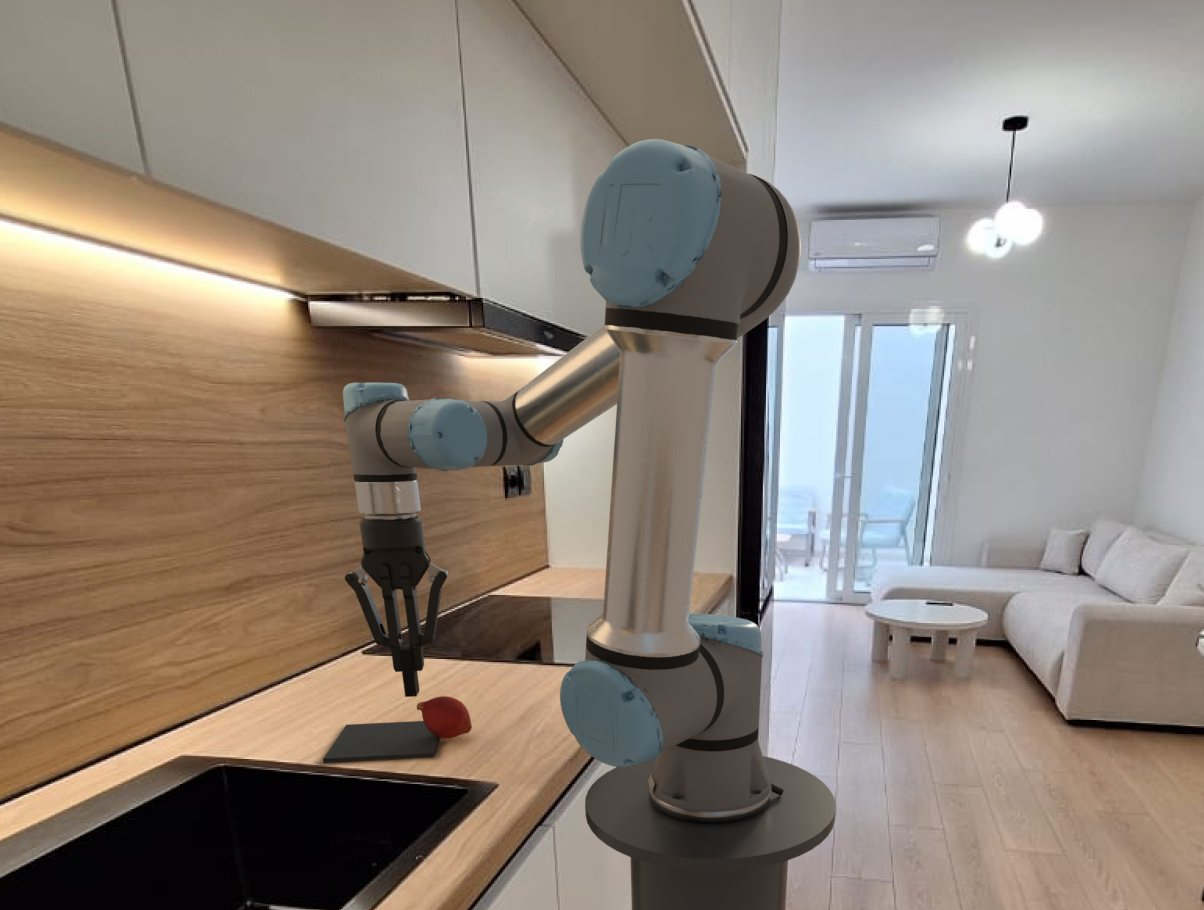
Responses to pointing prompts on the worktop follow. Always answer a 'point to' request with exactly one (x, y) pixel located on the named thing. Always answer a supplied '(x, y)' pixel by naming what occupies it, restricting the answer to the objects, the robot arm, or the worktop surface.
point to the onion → (445, 717)
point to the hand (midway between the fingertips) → (412, 693)
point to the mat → (383, 742)
